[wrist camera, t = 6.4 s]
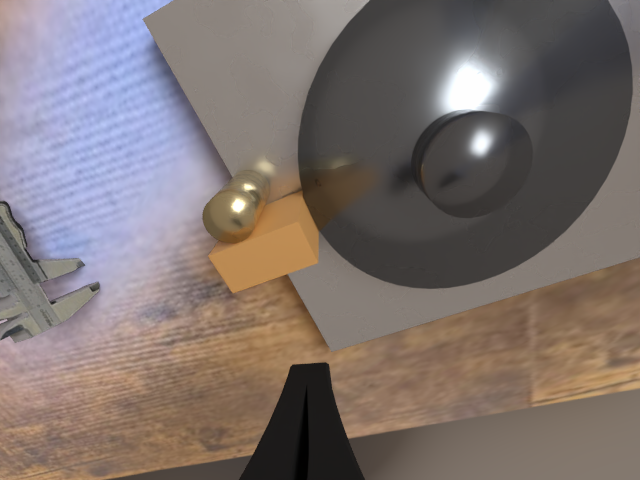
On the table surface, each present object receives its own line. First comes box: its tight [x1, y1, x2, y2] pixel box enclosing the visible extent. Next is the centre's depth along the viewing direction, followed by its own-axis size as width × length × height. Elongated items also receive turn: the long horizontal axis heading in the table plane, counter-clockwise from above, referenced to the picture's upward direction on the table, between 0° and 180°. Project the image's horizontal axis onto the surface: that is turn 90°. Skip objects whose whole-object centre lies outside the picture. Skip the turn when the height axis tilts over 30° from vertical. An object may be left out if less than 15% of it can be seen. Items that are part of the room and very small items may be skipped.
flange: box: [208, 0, 633, 293], centre depth 13 cm, size 18×14×4 cm
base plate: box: [143, 0, 640, 352], centre depth 13 cm, size 20×20×6 cm
